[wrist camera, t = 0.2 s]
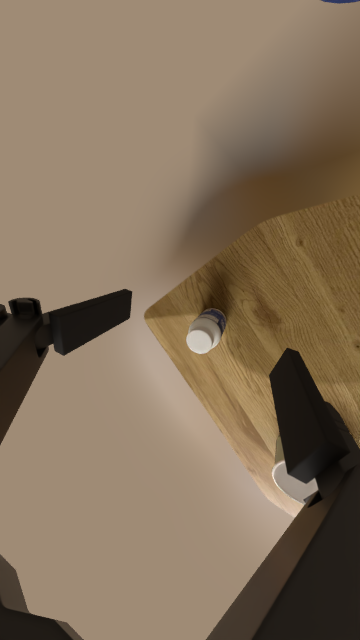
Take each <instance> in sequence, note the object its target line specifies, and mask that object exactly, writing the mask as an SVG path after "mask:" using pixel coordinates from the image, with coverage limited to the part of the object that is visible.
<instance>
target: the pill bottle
mask: <svg viewBox="0 0 360 640" xmlns="http://www.w3.org/2000/svg"><path fill="white" fill-rule="evenodd" d="M225 326H226V317H225V315H224V314H223V313H222V312H221V311H220V310H218V309H214V308H210V309H206V310H205V311H203V312H202V313H201V314H200V315H199V316H198V317H197V318H196V319H195V320H194V321H193V322H192V323H191V325H190V327H189V331H188V335H187V338H186V341H187V345H188V347H189V348H190V349H191V350H192V351H194V352H196V353H199V354H204V353H207V352H208V351H209V350H210V349H211V348H214V347H215V346H216V345H217V344H218V343H219V341H220V339H221V336H222V334H223V332H224V329H225Z"/></svg>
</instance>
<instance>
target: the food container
mask: <svg viewBox="0 0 360 640" xmlns="http://www.w3.org/2000/svg"><path fill="white" fill-rule="evenodd" d="M272 477H273V479H274V482H275V483H276V485H277V486H278V487H279V488H280V489H281V490H282V491H283V492H284V493H285V494H286V495H287V496H289V497H290V498H292V499H293V500H295V501H297V502H299V503H301V504H303V505H305V504H306V503H305V502H304V501H303V499H305V498H307V497H308V496H310V495H311V494H313V493H314V492H316V491H317V490H318V486H317V483H316V480H315V478H314V479H313V480H311V481H310V482H309V483H307V484H305V483H303V482H301V481H299V480H297V479H295V478H294V477H292V476H290V475H288V474H287V470H286V464H285V459H284V454H283V448H282V443H281V437H280V436H279V437H278V438H277V441H276V454H275V465H274V466H273V468H272Z"/></svg>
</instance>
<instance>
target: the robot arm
mask: <svg viewBox="0 0 360 640" xmlns="http://www.w3.org/2000/svg"><path fill="white" fill-rule="evenodd" d="M131 298H132V291H129V290H127V289H123V290H120V291H117V292H113V293H110V294H107V295H104V296H100V297H97V298H94V299H90V300H87V301H84V302H81V303H77V304H73V305H70V306H67V307H64V308H60V309H57V310H53V311H50V312H47V313H44V314H42V311H41V305H40V301H39V300H37V299H34V298H17V299H13V300H11V301H9V306H10V309H11V313H12V314H10V313H7V311H6V308H5V306H4V305H2V304H0V444H1V442H2V441H3V439H4V437H5V435H6V433H7V431H8V429H9V427H10V425H11V423H12V421H13V419H14V417H15V415H16V413H17V411H18V409H19V407H20V405H21V403H22V402H23V400H24V398H25V396H26V394H27V392H28V390H29V388H30V386H31V384H32V382H33V380H34V378H35V376H36V374H37V372H38V370H39V368H40V366H41V364H42V362H43V361H44V358H45V357H46V355H47V353H48V350H49V347H48V346H49V345H51V344H54V349H55V351H56V352H58V353H60V354H61V355H66V354H67V353H70V352H71V351H73V350H75V349H77V348H78V347H80V346H82V345H84V344H85V343H87V342H89V341H91V340H92V339H94V338H96V337H98V336H99V335H101V334H103V333H105V332H106V331H108V330H110V329H112V328H113V327H115V326H117V325H119V324H120V323H122V322H124V321H126V320H128V319H129V318H130V311H131ZM269 377H270V383H271V388H272V394H273V399H274V404H275V410H276V415H277V421H278V426H279V432H280V437H281V443H282V448H283V454H284V459H285V464H286V470H287V474H288V475H290V476H292V477H294V478H295V479H297V480H299V481H301V482H303V483H305V484H307V483H309V482H310V481H311V480H313V479H314V478H315V480H316V483H317V486H318V490H317V491H316V492H314V493H313V494H311V495H310V496H308V497H307V498H305V499H303V501H304V502H305V503H306V504H305V505H304V507H303V508H302V509H301V511H300V512H299V513H298V515H297V516H296V517H295V519H294V520H293V522H292V523H291V524H290V526H289V527H288V528H287V530H286V531H285V532H284V534H283V535H282V537H281V538H280V539H279V541H278V542H277V544H276V545H275V546H274V547H273V549H272V550H271V552H270V553H269V554H268V556H267V557H266V558H265V560H264V561H263V562H262V564H261V565H260V567H259V568H258V569H257V571H256V572H255V573H254V575H253V576H252V578H251V579H250V580H249V582H248V583H247V584H246V586H245V587H244V588H243V590H242V591H241V593H240V594H239V595H238V597H237V598H236V599H235V601H234V602H233V603H232V605H231V606H230V607H229V609H228V610H227V612H226V613H225V614H224V616H223V617H222V619H221V620H220V621H219V622H218V624H217V625H216V627H215V628H214V629H213V631H212V632H211V633H210V635H209V636H208V638H207V639H206V640H360V449H359V447H358V446H357V444H356V442H355V440H354V439H353V437H352V435H351V434H350V432H349V430H348V428H347V426H346V425H345V423H344V421H343V419H342V418H341V416H340V414H339V413H338V412H337V411H336V410H335V408H334V407H333V406H332V405H331V404H330V403H328V402H325V401H324V400H323V398H322V396H321V394H320V392H319V390H318V388H317V386H316V384H315V382H314V381H313V379H312V377H311V375H310V373H309V371H308V369H307V367H306V365H305V363H304V361H303V359H302V358H301V356H300V354H299V352H298V351H295V350H292V349H289V348H286V350H285V351H284V353H283V355H282V356H281V358H280V359H279V361H278V362H277V364H276V365H275V367H274V368H273V370H272V371H271V373H270V375H269ZM0 640H83V639H82V638H81V637H80V636H79V635H78V634H77V633H76V632H75V630H74V629H73V628H71V627H70V625H69V624H68V623H66V622H62V621H58V620H54V619H50V618H46V617H41V616H37V615H33V614H31V613H29V611H28V609H27V606H26V602H25V599H24V596H23V593H22V589H21V586H20V583H19V580H18V576H17V573H16V570H15V569H14V568H13V567H12V566H11V565H10V564H9V563H8V562H7V561H6V560H5V559H4V558H3V557H2V556H1V555H0Z"/></svg>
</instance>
